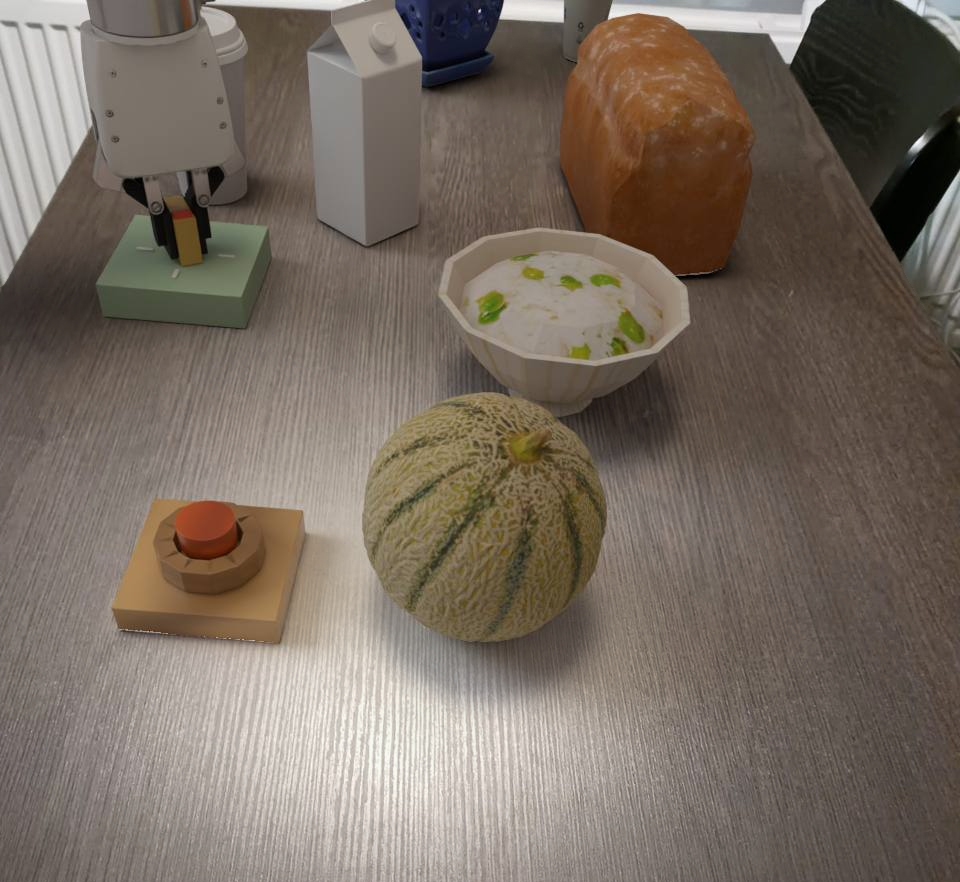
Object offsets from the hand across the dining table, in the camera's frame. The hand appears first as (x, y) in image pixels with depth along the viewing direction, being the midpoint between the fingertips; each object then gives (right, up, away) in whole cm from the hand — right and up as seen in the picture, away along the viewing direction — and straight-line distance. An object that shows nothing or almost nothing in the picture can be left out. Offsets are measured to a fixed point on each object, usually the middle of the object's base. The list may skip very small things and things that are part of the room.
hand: (184, 247), depth 83 cm
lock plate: (0, -2, +3) cm, 4 cm away
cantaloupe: (+25, -31, -19) cm, 44 cm away
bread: (+42, +10, +17) cm, 46 cm away
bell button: (+8, -27, -22) cm, 36 cm away
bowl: (+31, -13, -3) cm, 34 cm away
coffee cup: (-1, +12, +14) cm, 18 cm away
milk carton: (+14, +7, +12) cm, 20 cm away
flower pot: (+19, +37, +38) cm, 57 cm away
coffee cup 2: (+38, +43, +44) cm, 73 cm away
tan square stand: (+8, -30, -20) cm, 37 cm away
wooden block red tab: (0, 0, 0) cm, 0 cm away
